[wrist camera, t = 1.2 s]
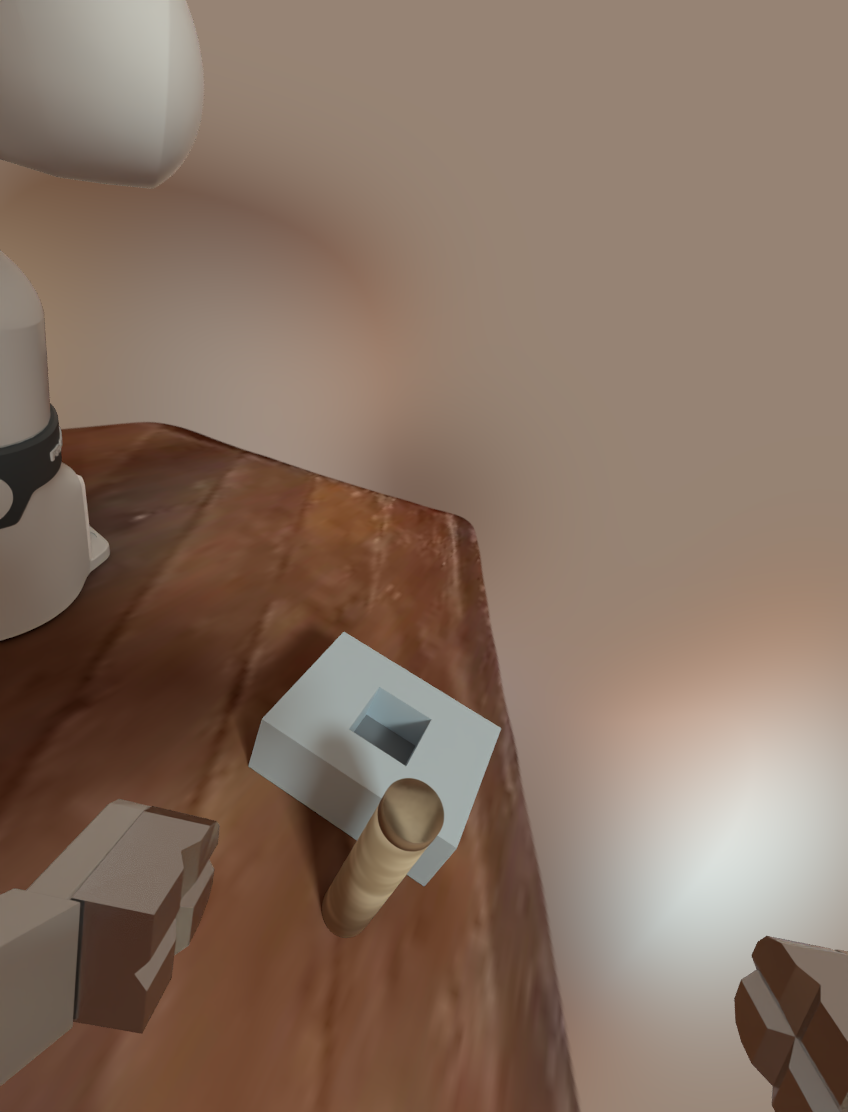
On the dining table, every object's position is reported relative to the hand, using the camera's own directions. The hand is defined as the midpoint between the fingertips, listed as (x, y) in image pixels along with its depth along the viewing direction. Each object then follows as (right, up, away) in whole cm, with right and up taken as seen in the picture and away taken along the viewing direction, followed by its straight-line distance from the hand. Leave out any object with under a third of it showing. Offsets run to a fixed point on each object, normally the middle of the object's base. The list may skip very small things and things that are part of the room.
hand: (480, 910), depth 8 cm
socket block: (-5, -10, +30) cm, 33 cm away
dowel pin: (-5, -16, +23) cm, 28 cm away
